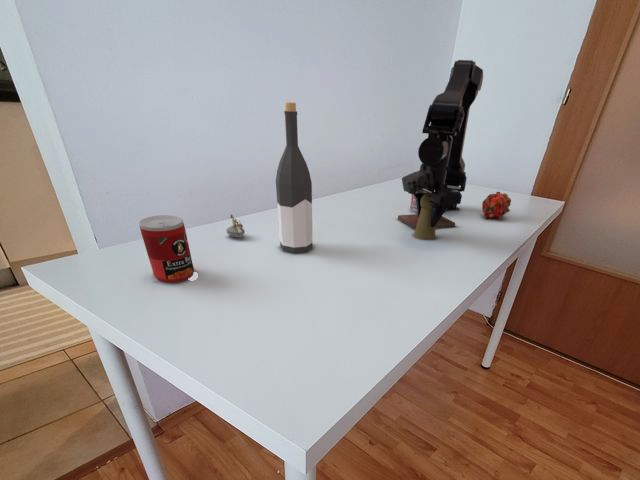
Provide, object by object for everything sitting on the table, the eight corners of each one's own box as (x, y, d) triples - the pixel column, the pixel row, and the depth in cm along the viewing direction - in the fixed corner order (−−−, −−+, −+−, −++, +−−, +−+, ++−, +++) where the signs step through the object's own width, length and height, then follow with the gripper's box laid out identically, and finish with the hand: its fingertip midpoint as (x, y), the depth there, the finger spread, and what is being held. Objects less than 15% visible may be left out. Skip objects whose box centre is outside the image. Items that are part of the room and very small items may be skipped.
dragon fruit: (501, 219, 126) (485, 231, 119) (485, 200, 126) (469, 211, 119) (520, 201, 119) (505, 214, 112) (504, 182, 119) (488, 193, 112)
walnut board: (435, 216, 119) (435, 212, 118) (454, 226, 111) (455, 222, 110) (397, 219, 114) (397, 215, 114) (414, 230, 106) (415, 226, 105)
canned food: (171, 287, 70) (156, 230, 64) (145, 276, 74) (128, 221, 67) (203, 274, 76) (192, 220, 69) (178, 264, 79) (165, 212, 72)
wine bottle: (299, 240, 95) (294, 101, 77) (319, 248, 90) (318, 104, 73) (273, 246, 90) (261, 100, 73) (293, 256, 86) (286, 103, 68)
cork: (436, 240, 100) (444, 198, 93) (415, 239, 100) (421, 197, 93) (433, 233, 105) (440, 193, 98) (412, 232, 105) (418, 191, 98)
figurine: (223, 236, 94) (220, 212, 91) (238, 233, 97) (235, 209, 93) (235, 242, 92) (231, 217, 88) (250, 238, 94) (247, 214, 91)
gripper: (391, 154, 95) (385, 215, 104) (429, 167, 81) (417, 236, 90) (428, 154, 99) (418, 213, 108) (469, 167, 85) (455, 233, 94)
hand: (426, 223), depth 100 cm, fingers closed on cork, 6 cm apart
